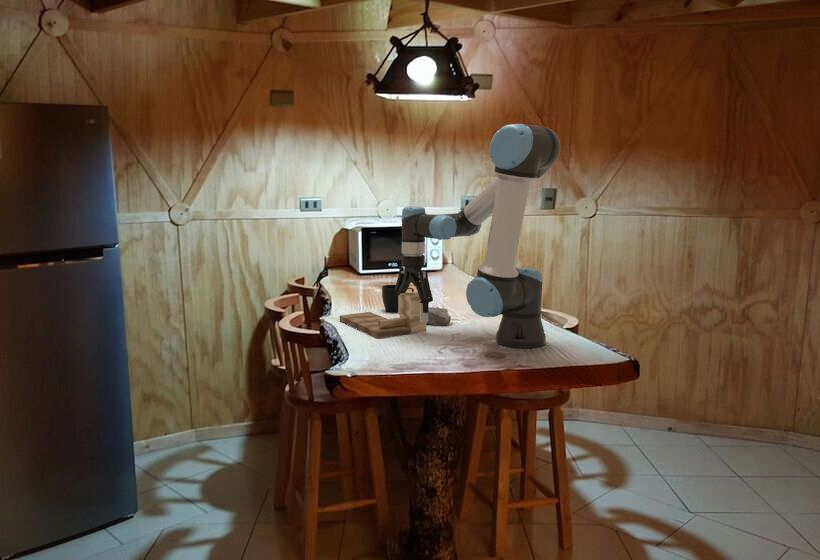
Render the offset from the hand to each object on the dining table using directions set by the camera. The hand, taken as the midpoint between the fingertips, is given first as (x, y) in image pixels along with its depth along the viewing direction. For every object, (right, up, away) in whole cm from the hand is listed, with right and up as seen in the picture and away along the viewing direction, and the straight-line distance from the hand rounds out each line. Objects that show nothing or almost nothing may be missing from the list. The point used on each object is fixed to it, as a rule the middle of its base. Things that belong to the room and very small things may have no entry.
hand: (412, 318), depth 206 cm
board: (-13, -3, +4) cm, 14 cm away
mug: (-5, +1, +30) cm, 30 cm away
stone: (+8, -3, +10) cm, 13 cm away
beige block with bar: (-4, -4, -2) cm, 6 cm away
